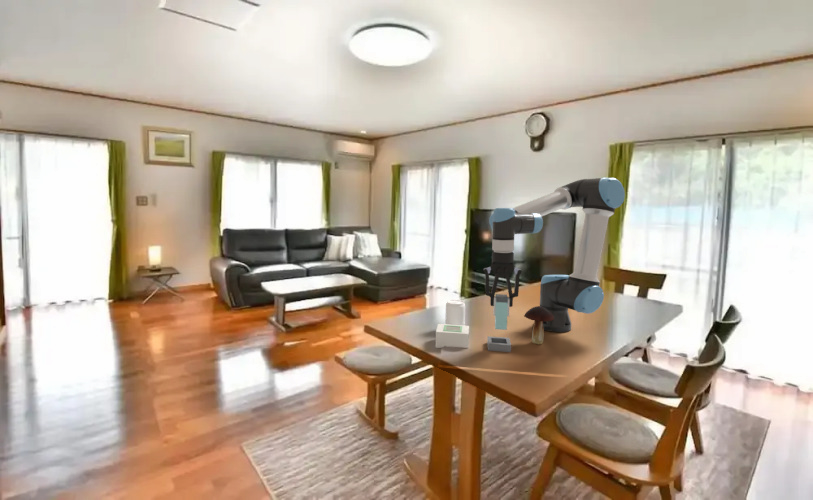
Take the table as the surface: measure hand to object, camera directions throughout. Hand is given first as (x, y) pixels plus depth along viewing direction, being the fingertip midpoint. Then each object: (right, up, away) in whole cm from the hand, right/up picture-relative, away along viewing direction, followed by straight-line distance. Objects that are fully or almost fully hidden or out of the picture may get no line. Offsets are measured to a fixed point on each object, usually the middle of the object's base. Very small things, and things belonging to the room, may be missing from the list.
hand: (501, 314), depth 145 cm
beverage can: (-14, -10, +24) cm, 29 cm away
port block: (-17, -12, +6) cm, 22 cm away
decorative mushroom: (+15, -13, +7) cm, 21 cm away
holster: (-1, -13, +1) cm, 13 cm away
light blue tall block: (0, -5, +1) cm, 5 cm away
